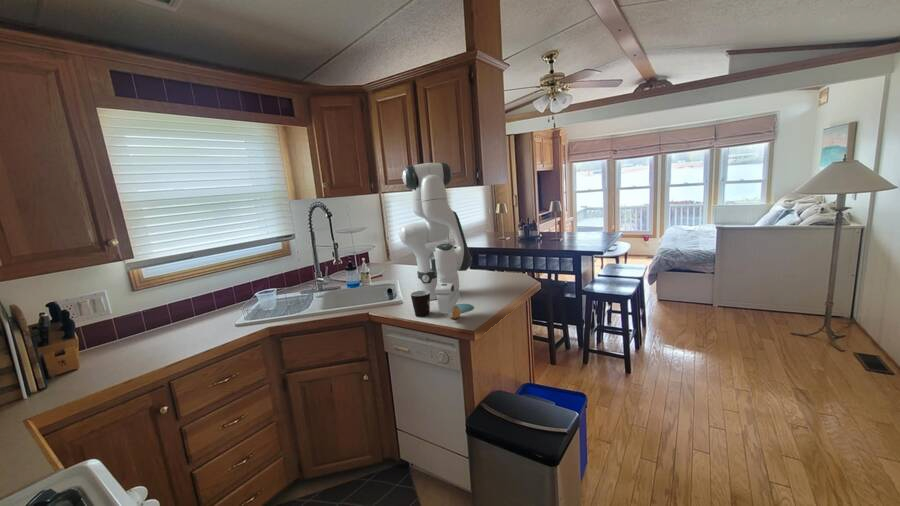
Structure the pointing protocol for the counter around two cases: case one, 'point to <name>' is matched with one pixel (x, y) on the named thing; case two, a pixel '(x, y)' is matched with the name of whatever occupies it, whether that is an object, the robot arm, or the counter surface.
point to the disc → (464, 307)
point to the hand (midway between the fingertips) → (451, 316)
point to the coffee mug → (421, 303)
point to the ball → (456, 312)
